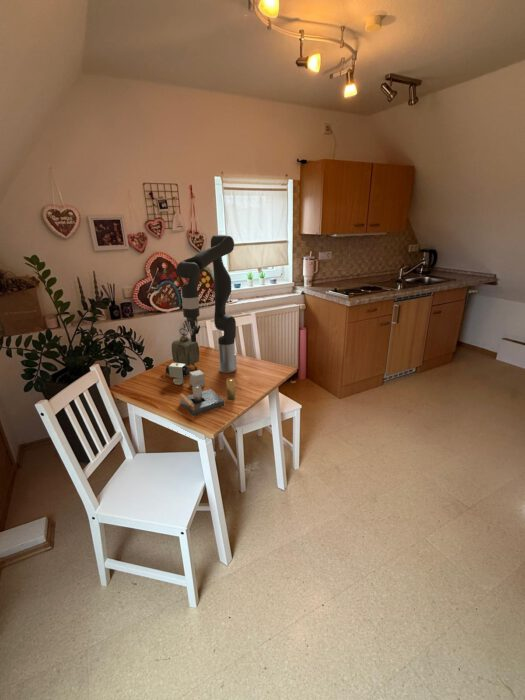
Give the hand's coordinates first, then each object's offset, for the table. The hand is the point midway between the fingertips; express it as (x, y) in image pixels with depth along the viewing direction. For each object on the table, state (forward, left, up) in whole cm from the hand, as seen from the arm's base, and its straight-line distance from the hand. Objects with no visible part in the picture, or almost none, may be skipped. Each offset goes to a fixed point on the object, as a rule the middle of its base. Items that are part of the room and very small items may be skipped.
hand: (193, 341), depth 156 cm
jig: (+4, +14, -27) cm, 31 cm away
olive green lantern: (-7, -30, -27) cm, 41 cm away
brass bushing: (-10, +17, -27) cm, 33 cm away
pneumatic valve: (+4, -14, -27) cm, 31 cm away
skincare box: (-3, -6, -27) cm, 28 cm away
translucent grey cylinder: (+6, +14, -27) cm, 31 cm away
